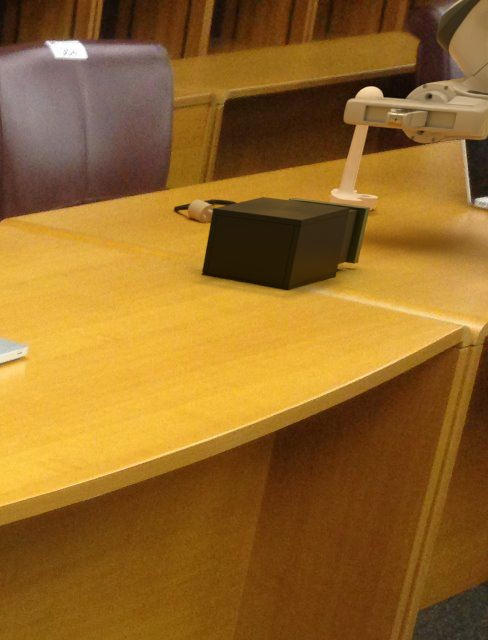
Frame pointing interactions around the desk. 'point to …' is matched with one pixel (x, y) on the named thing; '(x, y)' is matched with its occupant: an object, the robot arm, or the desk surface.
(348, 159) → the joystick
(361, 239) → the drawer
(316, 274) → the cabinet
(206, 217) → the cable
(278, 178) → the desk surface
